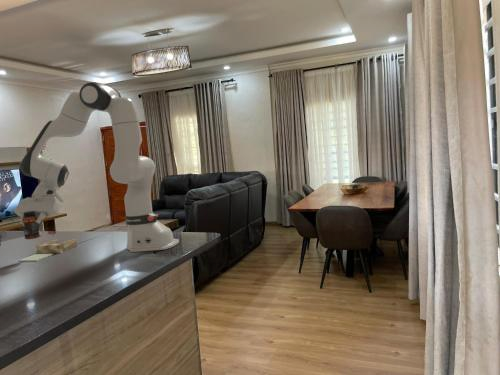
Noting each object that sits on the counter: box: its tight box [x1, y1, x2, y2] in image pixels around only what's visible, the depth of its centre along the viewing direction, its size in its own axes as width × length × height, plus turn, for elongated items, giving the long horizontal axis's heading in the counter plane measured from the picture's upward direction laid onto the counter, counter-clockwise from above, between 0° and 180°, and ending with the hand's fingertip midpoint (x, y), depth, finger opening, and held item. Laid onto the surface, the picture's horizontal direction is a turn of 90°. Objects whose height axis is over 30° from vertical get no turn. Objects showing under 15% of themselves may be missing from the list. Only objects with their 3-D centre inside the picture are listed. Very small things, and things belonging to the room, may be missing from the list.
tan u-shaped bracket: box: [35, 238, 78, 254], centre depth 176 cm, size 13×10×4 cm
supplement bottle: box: [22, 211, 42, 240], centre depth 162 cm, size 6×6×11 cm
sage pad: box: [18, 253, 54, 262], centre depth 164 cm, size 9×9×1 cm
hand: (29, 223), depth 162 cm, fingers closed on supplement bottle, 6 cm apart
